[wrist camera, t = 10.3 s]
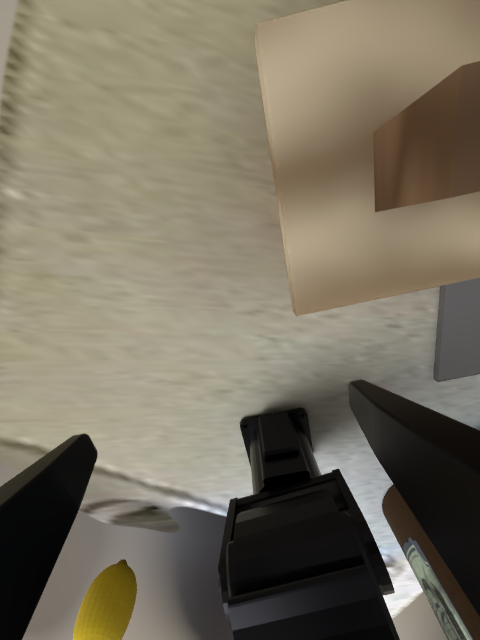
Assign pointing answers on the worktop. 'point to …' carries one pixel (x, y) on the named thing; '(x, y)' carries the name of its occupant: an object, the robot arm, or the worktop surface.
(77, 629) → the lemon
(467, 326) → the mat
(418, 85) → the lid
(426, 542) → the olive oil
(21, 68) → the worktop surface
